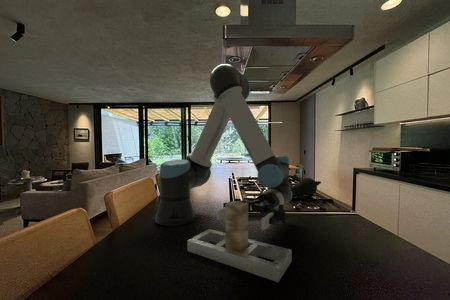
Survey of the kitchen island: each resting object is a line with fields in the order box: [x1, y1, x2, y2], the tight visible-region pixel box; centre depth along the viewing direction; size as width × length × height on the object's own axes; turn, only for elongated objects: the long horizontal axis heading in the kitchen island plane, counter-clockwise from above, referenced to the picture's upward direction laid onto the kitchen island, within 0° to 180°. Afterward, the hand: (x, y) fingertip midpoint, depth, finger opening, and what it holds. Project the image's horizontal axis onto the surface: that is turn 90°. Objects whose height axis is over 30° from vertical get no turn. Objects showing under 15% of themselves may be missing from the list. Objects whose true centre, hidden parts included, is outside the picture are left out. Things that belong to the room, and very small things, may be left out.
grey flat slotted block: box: [186, 228, 293, 283], centre depth 58 cm, size 26×10×3 cm, turn 57°
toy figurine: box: [289, 167, 322, 199], centre depth 122 cm, size 10×19×26 cm
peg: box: [224, 200, 249, 253], centre depth 58 cm, size 4×4×14 cm
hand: (238, 219), depth 58 cm, fingers open, 13 cm apart
